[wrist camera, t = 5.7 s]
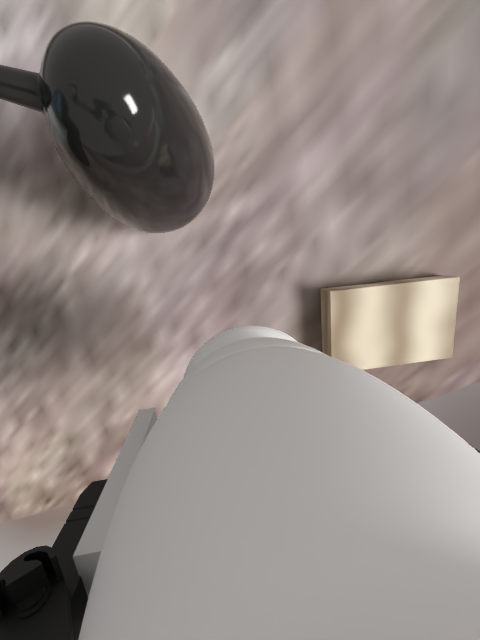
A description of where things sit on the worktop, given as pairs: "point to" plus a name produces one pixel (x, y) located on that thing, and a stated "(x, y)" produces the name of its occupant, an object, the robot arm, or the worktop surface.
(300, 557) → the white cup
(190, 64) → the worktop surface
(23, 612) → the robot arm
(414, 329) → the birch trivet
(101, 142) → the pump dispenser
